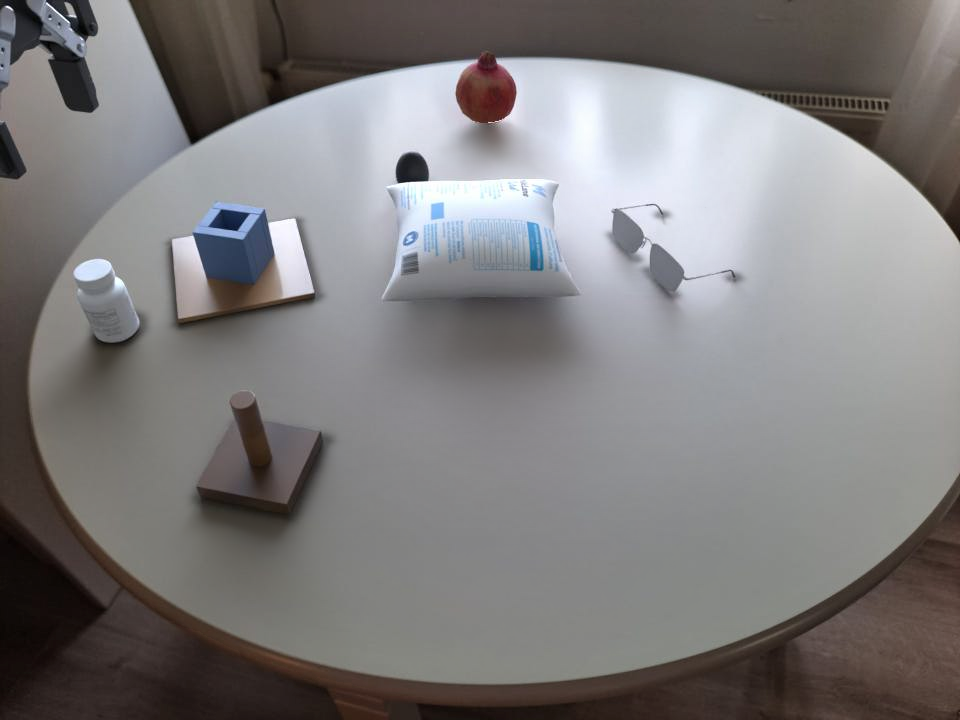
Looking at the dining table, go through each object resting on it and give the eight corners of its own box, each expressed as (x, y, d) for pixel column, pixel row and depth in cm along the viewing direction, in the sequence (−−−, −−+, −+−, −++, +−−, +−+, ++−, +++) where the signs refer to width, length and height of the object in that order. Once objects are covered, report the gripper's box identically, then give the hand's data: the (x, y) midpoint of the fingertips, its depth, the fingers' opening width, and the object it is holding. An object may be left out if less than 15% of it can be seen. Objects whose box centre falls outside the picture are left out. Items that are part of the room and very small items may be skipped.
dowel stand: (200, 497, 68) (171, 429, 61) (239, 425, 73) (217, 356, 67) (289, 514, 67) (270, 447, 60) (323, 440, 72) (308, 371, 66)
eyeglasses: (605, 231, 94) (611, 201, 91) (660, 217, 97) (668, 188, 94) (678, 301, 85) (688, 271, 83) (736, 284, 88) (747, 254, 86)
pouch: (376, 267, 77) (584, 255, 77) (382, 163, 91) (559, 153, 91) (385, 329, 82) (580, 317, 83) (390, 222, 96) (557, 213, 96)
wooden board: (179, 323, 83) (177, 319, 82) (172, 243, 92) (171, 239, 91) (315, 297, 86) (314, 292, 85) (295, 221, 95) (295, 217, 94)
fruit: (499, 102, 115) (500, 33, 108) (525, 129, 110) (528, 58, 103) (447, 114, 113) (445, 44, 105) (471, 142, 108) (471, 71, 100)
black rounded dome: (391, 182, 101) (388, 147, 97) (421, 174, 102) (419, 139, 98) (404, 199, 98) (401, 164, 95) (434, 191, 99) (433, 155, 96)
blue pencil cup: (205, 277, 87) (192, 232, 82) (228, 246, 91) (216, 201, 86) (254, 284, 86) (243, 239, 82) (274, 253, 90) (265, 208, 85)
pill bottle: (116, 309, 84) (91, 250, 78) (149, 322, 83) (126, 263, 77) (85, 335, 81) (57, 276, 76) (118, 349, 80) (92, 290, 74)
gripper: (-41, -172, 48) (59, 85, 59) (-239, -98, 38) (-73, 192, 50) (73, -164, 47) (152, 96, 58) (-101, -85, 37) (36, 209, 49)
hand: (49, 140), depth 54 cm, fingers open, 8 cm apart
